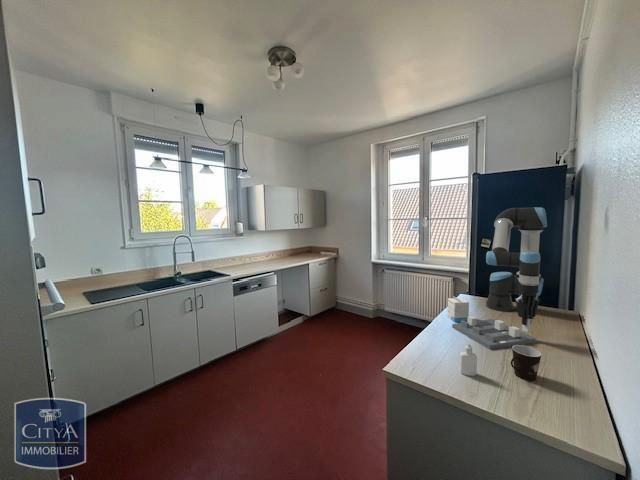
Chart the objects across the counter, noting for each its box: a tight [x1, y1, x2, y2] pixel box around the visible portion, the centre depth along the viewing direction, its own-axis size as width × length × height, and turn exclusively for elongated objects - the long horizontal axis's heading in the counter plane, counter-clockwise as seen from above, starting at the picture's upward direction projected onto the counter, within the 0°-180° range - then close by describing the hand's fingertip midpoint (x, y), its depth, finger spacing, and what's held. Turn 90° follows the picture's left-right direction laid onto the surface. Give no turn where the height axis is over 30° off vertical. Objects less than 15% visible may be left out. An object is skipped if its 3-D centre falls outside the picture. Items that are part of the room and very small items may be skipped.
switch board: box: [451, 319, 537, 350], centre depth 132 cm, size 26×24×4 cm
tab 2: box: [494, 319, 506, 331], centre depth 133 cm, size 3×3×4 cm
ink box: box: [447, 295, 470, 323], centre depth 151 cm, size 9×8×13 cm
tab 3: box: [509, 326, 521, 338], centre depth 125 cm, size 3×3×4 cm
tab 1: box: [467, 315, 478, 326], centre depth 139 cm, size 3×3×4 cm
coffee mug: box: [510, 344, 542, 382], centre depth 98 cm, size 12×9×10 cm
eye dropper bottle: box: [459, 342, 478, 377], centre depth 100 cm, size 4×6×12 cm
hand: (526, 331), depth 126 cm, fingers closed
